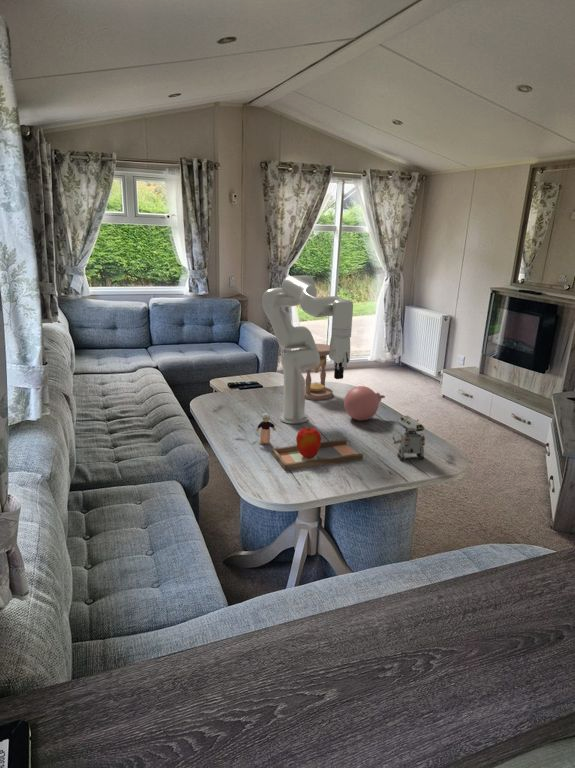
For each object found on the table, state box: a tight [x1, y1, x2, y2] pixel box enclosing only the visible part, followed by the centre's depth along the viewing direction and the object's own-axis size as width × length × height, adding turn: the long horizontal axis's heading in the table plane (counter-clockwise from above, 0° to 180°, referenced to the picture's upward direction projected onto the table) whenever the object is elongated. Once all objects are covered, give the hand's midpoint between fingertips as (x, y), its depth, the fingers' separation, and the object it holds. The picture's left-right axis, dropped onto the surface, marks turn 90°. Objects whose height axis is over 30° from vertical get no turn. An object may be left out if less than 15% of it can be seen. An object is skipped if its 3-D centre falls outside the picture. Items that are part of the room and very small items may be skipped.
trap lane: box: [271, 438, 364, 472], centre depth 200 cm, size 15×31×2 cm, turn 110°
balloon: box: [343, 385, 386, 421], centre depth 238 cm, size 15×20×15 cm
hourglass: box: [298, 343, 334, 401], centre depth 269 cm, size 18×18×25 cm
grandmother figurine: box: [255, 412, 276, 445], centre depth 210 cm, size 8×4×13 cm, turn 105°
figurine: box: [392, 415, 426, 461], centre depth 200 cm, size 9×12×15 cm
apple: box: [295, 426, 322, 458], centre depth 198 cm, size 9×9×12 cm
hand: (338, 378), depth 207 cm, fingers closed
